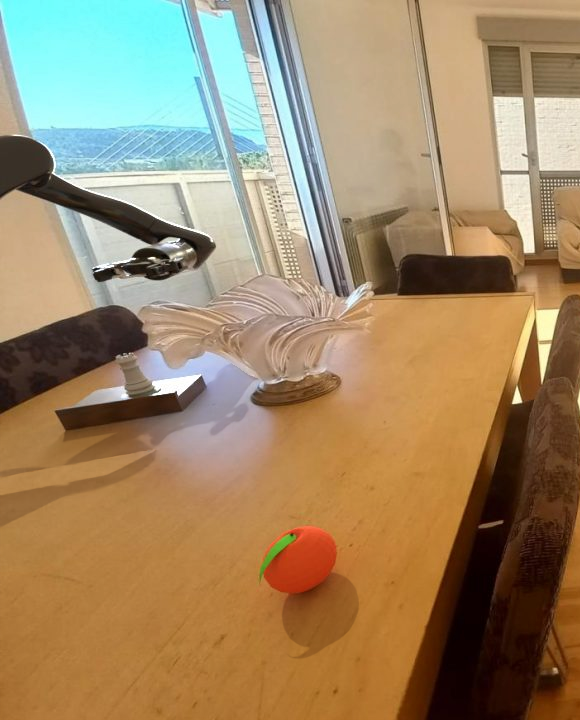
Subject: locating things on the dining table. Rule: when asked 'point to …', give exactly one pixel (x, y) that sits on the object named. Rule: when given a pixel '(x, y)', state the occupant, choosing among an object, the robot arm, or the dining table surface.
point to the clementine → (299, 560)
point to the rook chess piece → (134, 375)
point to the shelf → (131, 403)
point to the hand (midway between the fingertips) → (124, 274)
